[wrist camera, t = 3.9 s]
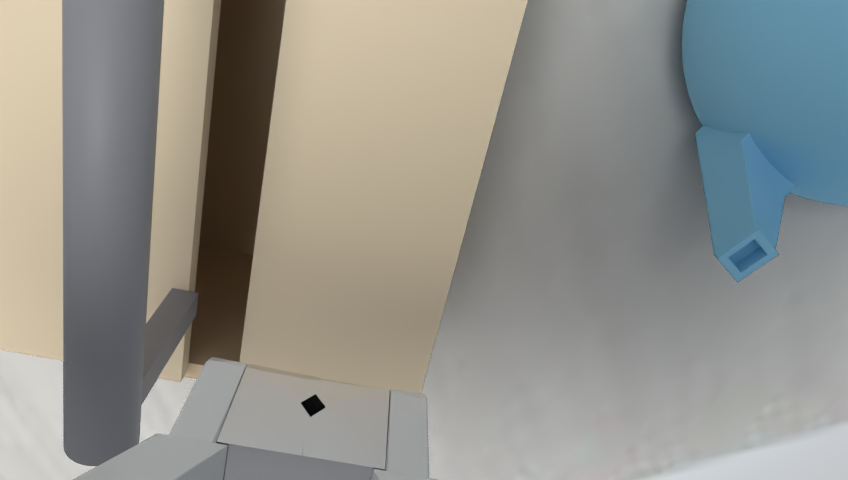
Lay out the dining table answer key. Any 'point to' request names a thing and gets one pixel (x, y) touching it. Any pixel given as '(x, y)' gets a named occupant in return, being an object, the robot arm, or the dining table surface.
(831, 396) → the dining table surface
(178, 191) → the far flap
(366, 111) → the carton
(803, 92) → the teapot
